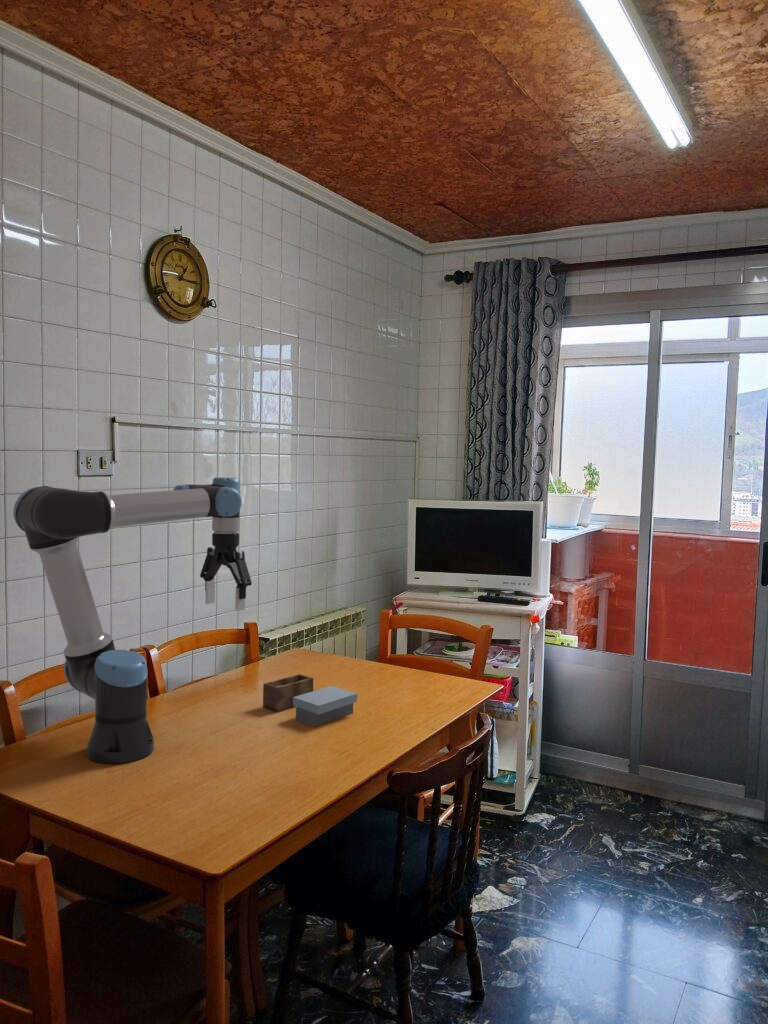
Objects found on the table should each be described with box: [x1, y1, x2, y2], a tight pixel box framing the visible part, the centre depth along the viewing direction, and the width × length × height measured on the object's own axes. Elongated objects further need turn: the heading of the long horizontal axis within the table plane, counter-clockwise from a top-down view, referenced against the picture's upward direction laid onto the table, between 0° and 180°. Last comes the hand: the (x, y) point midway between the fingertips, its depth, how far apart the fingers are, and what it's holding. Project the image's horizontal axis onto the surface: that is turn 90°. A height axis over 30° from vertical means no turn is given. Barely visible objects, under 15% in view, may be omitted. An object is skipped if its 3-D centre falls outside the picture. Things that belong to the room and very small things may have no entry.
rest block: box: [295, 703, 354, 728], centre depth 210 cm, size 16×6×4 cm, turn 139°
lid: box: [293, 685, 358, 714], centre depth 210 cm, size 15×10×2 cm, turn 139°
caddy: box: [262, 673, 314, 713], centre depth 220 cm, size 14×6×7 cm, turn 139°
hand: (224, 606), depth 215 cm, fingers open, 13 cm apart
